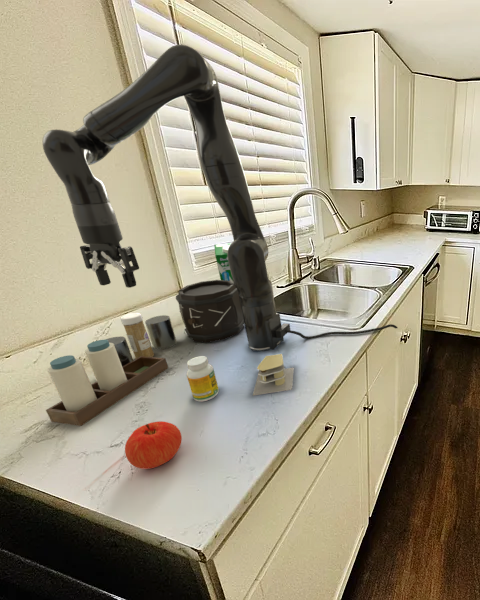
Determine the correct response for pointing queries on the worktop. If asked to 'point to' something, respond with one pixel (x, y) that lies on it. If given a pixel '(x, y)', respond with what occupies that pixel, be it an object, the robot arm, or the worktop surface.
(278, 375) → the stacked layers on plate
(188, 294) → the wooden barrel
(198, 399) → the supplement bottle
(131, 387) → the spice rack
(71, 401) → the off-white bottles
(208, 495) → the worktop surface
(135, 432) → the apple
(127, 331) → the sprinkles bottle
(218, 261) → the milk carton
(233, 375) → the worktop surface
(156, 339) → the grey tins
